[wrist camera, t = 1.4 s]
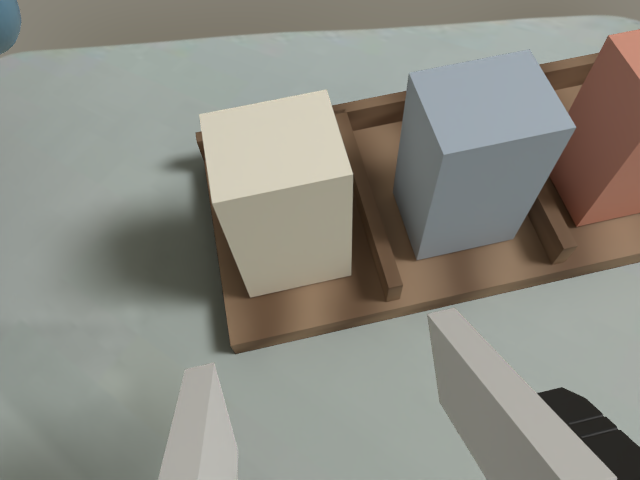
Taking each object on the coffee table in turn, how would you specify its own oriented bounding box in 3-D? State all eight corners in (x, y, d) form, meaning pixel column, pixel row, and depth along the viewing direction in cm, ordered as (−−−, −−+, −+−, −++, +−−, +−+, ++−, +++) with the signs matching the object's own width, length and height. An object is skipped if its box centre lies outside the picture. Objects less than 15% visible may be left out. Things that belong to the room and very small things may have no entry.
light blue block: (416, 260, 31) (443, 154, 23) (392, 191, 34) (409, 72, 25) (513, 239, 32) (576, 127, 23) (483, 172, 34) (529, 49, 26)
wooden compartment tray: (235, 354, 31) (223, 334, 28) (207, 165, 38) (195, 132, 35) (698, 248, 33) (734, 219, 30) (593, 87, 40) (614, 49, 37)
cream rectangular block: (250, 297, 31) (212, 203, 22) (237, 225, 33) (199, 114, 24) (351, 275, 31) (353, 174, 22) (331, 205, 34) (326, 89, 25)
